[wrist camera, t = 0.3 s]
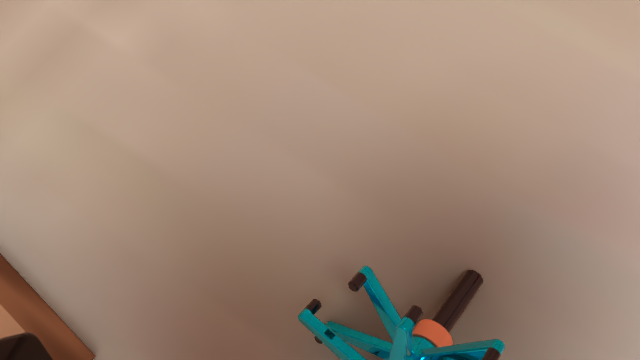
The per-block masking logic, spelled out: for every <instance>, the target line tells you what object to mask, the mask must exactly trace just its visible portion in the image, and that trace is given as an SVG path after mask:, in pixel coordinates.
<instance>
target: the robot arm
mask: <svg viewBox="0 0 640 360" xmlns="http://www.w3.org/2000/svg"><path fill="white" fill-rule="evenodd" d="M0 360H53V358H52V357H51V355H50V354H49V352H48V351H47V349H46V348H45V346H44V345H43V343H42V342H41V341H40V339H39V338H38V337H37V335H35V334H34V333H31V332H23V333H19V334H15V335H11V336H7V337H4V338H1V339H0Z"/></svg>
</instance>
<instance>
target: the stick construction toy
mask: <svg viewBox="0 0 640 360" xmlns="http://www.w3.org/2000/svg"><path fill="white" fill-rule="evenodd" d="M482 283H483V279H482V277H481V275H480V274H479V273H477V272H476V271H473V270H467V271H466V272H465V273H464V275H463V276H462V278H461V279H460V280H459V282H458V283H457V285H456V286H455V287H454V289H453V290H452V292H451V293H450V294H449V296H448V297H447V299H446V300H445V301H444V303H443V304H442V306H441V307H440V309H439V310H438V311H437V313H436V314H435V316H434V317H433V318H432V320H428V319H424V320H421V321H419V319H420V318H421V316H422V315H423V311H422V309H421V308H420V307H419V306H416V305H413V306H412V307H411V308H410V309H409V311H408V312H407V313H406V315H405V316H404V317H403V319H401V318H400V316H399V314H398V313H397V311H396V309H395V308H394V306H393V304H392V303H391V301H390V299H389V298H388V296H387V294H386V293H385V291H384V289H383V288H382V286H381V284H380V283H379V281H378V279H377V278H376V276H375V274H374V273H373V271H372V269H371V268H370V267H368V266H363V267H362V268H361V270H360V271H359V272H358V273H357V274H356V275H355V276H354V277H353V278H352V280H351V281H350V282H349V283H348V286H349V288H350V289H351V290H352V291H355V292H357V291H358V290H359V289H360V288H361V287H362V286H364V287H365V289H366V291H367V293H368V295H369V297H370V299H371V301H372V303H373V305H374V307H375V308H376V310H377V312H378V314H379V316H380V318H381V320H382V322H383V324H384V326H385V328H386V330H387V331H388V333H389V335H390V337H391V339H392V341H393V343H390V342H388V341H385V340H382V339H379V338H376V337H374V336H371V335H368V334H365V333H363V332H360V331H357V330H354V329H351V328H349V327H346V326H343V325H340V324H337V323H335V322H332V321H328V322H327V323H326V324H324V323H323V322H321V321H320V320H319V319H318V318H317V317H316V316H314V314H315V313H316V312H317V311H318V310H319V309H320V308H321V303H320V301H319V300H317V299H313V300H312V301H311V302H310V303H309V304H308V305H307V307H306V308H305V309H304V310H303V311H302V312H301V313H300V314H299V315H298V319H299V321H300V322H301V323H302V324H303V325H304V326H306V327H307V328H308V329H309V330H310V331H311V332H312V333H313V334H314V335H315V340H316V341H317V342H318V343H320V344H322V343H324V344H325V345H326V346H327V347H328V348H329V349H330V350H331V351H332V352H333V353H334V354H336V355H337V356H338V357H339V358H340V359H341V360H367V359H365V358H364V357H363V356H362V355H361V354H359V353H358V352H357V351H356V350H355V349H354V348H352V347H351V346H350V345H349V344H348V343H350V344H352V345H354V346H356V347H359V348H361V349H363V350H365V351H367V352H369V353H372V354H374V355H376V356H378V357H380V358H382V359H385V360H499V358H500V356H501V354H502V353H503V351H504V349H505V344H504V343H503V342H502V341H501V340H499V339H493V340H486V341H478V342H471V343H464V344H457V345H452V344H453V341H452V337H451V335H450V334H449V333H450V331H451V330H452V328H453V327H454V325H455V324H456V322H457V321H458V319H459V318H460V316H461V315H462V313H463V312H464V310H465V309H466V307H467V306H468V304H469V303H470V301H471V300H472V298H473V297H474V295H475V294H476V292H477V291H478V289H479V288H480V286H481V285H482ZM418 321H419V323H418V324H417V325H416V323H417V322H418ZM415 325H416V327H415V328H414V330H413V327H414V326H415ZM346 342H348V343H346Z"/></svg>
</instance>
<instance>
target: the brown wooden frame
mask: <svg viewBox="0 0 640 360" xmlns="http://www.w3.org/2000/svg"><path fill="white" fill-rule="evenodd" d="M23 332H31V333H34V334H35V335H37V337H38V338H39V339H40V341H41V342H42V343H43V345H44V346H45V348H46V349H47V351H48V352H49V354H50V355H51V357H52V358H53V360H92V359H93V358H94V357H95V356H94V355H93V354H92V353H91V351H90V350H89V349H88V348H87V347H86V346H85V345H84V344H83V343H82V342H81V341H80V340H79V339H78V337H77V336H76V335H75V334H74V333H73V332H72V331H71V330H70V329H69V328H68V327H67V326H66V324H65V323H64V322H63V321H62V320H61V319H60V318H59V317H58V316H57V315H56V314H55V313H54V312H53V310H52V309H51V308H50V307H49V306H48V305H47V304H46V303H45V302H44V301H43V300H42V299H41V297H40V296H39V295H38V294H37V293H36V292H35V291H34V290H33V289H32V288H31V287H30V286H29V285H28V283H27V282H26V281H25V280H24V279H23V278H22V277H21V276H20V275H19V274H18V273H17V272H16V270H15V269H14V268H13V267H12V266H11V265H10V264H9V263H8V262H7V261H6V260H5V259H4V257H3V256H2V255H1V254H0V339H1V338H4V337H7V336H11V335H15V334H19V333H23Z"/></svg>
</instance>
